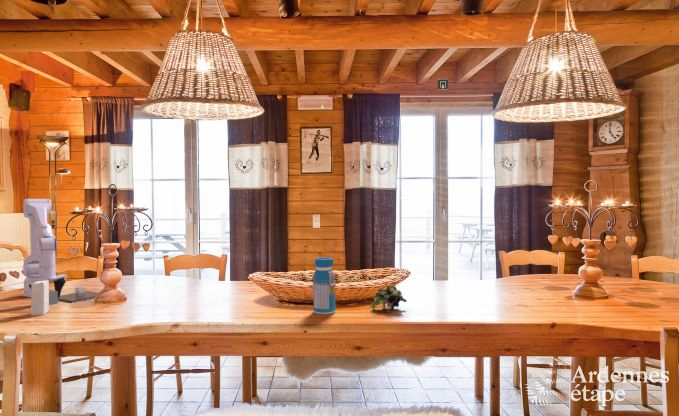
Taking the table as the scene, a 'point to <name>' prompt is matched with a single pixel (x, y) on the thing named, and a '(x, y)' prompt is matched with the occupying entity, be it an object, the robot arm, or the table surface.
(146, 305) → the table surface
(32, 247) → the robot arm
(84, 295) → the dark grey flat block
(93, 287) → the table surface
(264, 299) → the table surface
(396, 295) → the green leafy plant
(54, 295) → the grey cube
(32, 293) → the skincare box
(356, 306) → the table surface
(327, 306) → the beverage bottle
